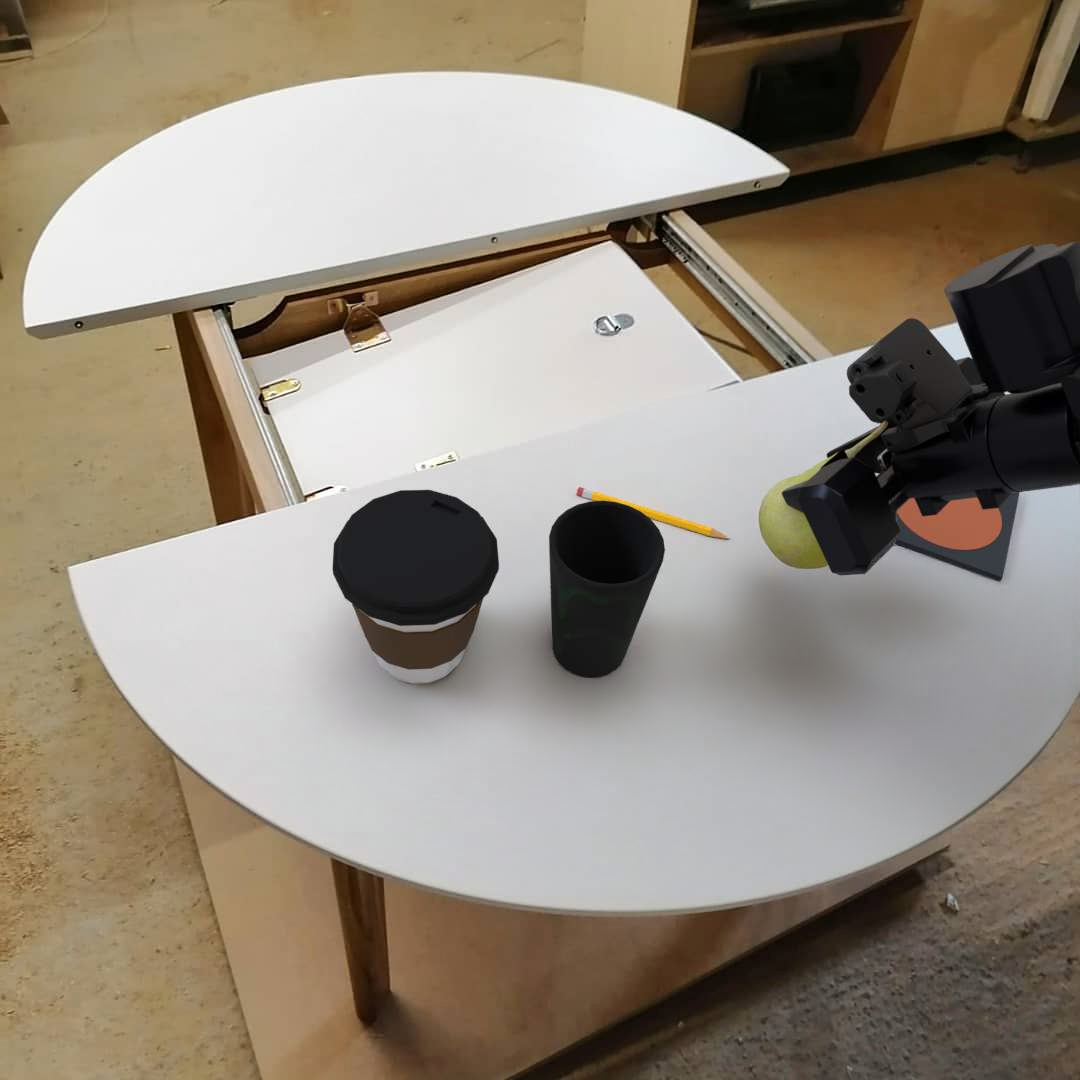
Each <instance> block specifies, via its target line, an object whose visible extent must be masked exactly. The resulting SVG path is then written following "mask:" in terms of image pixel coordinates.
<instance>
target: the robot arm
mask: <svg viewBox="0 0 1080 1080" xmlns="http://www.w3.org/2000/svg"><path fill="white" fill-rule="evenodd" d="M943 291H944V294H945V296H946V298H947V299H946V300H947V301H948V304H949V306H950V308H951V311H952V313H953V316H954V318H955V321H956V322H957V326H958V327H959V331H960V332H961V335H962V337H963V340H964V342H965V345H966V348H967V349H968V352H969V354H970V356H966V357H963V358H959V359H955V358H954V357H953V356H952V355H951V353H950V352H949V351H948V350H947V349H946V348H945V347H944V345H943V344H942V343H941V342H940V341H939V339H937V337H936V336H935V335H934V334H933V333H932V332H931V330H930V329H929V328H928V326H926V325H925V323H923V322H922V321H921V320H919V319H917V318H913V317H909V318H907V319H905V320H903V321H902V322H901V323H900V324H898V325H897V326H896V327H895V328H893V329H892V330H891V331H890V332H888V333H887V334H886V335H884V336H883V337H882V338H881V339H880V340H878V341H877V342H876V343H875V344H874V345H872V346H871V347H870V348H868V350H866V351H865V352H864V353H863V354H861V356H859V357H858V358H856V359H855V360H854V361H853V362H851V364H850V365H849V366H848V367H847V369H846V377H847V380H848V382H849V384H850V385H849V387H848V394H849V397H850V399H852V401H853V402H854V403H855V404H856V406H857V407H858V408H859V409H860V410H861V411H862V412H863V414H864V415H865V416H866V417H867V418H868V420H869V421H870V422H872V423H876V424H881V423H883V422H884V421H887V422H888V425H887V427H886V428H885V430H884V431H883V432H881V434H880V435H878V436H877V437H876V438H874V439H873V440H871V441H870V442H869V443H867V444H866V445H865V446H864V447H862V449H861V450H860V451H859V452H858V453H856V455H855V456H854V457H852V458H848V456H847V454H846V452H845V450H848V449H851V448H853V447H854V446H855V445H857V444H858V443H859V442H861V441H862V440H864V439H865V438H866V437H868V436H869V435H870V434H871V433H873V432H874V431H875V430H876V429H877V428H878V427H879V425H878V426H875V427H874V428H872V429H870V430H868V431H866V432H864V433H862V434H860V435H858V436H856V437H854V438H852V439H850V440H848V441H846V442H845V443H842V444H841V445H839V446H837V447H835V448H833V449H831V450H829V451H828V452H827V453H826V459H827V458H829V457H831V456H833V455H834V454H836V453H837V454H836V455H834V456H833V457H832V458H831V459H830V460H829V461H827V462H826V463H825V464H824V465H823V466H822V467H821V468H820V470H819V471H818V472H817V473H816V474H815V475H814V476H812V477H811V478H810V479H809V480H807V481H804V482H802V483H799V484H796V485H794V486H792V487H789V488H787V489H785V490H784V491H782V496H783V498H784V500H785V502H786V504H787V505H788V506H790V507H792V508H794V509H796V510H798V511H800V512H802V513H804V515H805V517H806V519H807V521H808V523H809V525H810V527H811V529H812V532H813V534H814V536H815V538H816V540H817V542H818V544H819V546H820V549H821V551H822V553H823V555H824V557H825V559H826V561H827V563H828V567H829V570H830V572H831V573H832V574H834V575H837V576H840V577H841V576H855V575H856V576H857V575H866V574H867V573H868V572H869V571H870V570H871V569H873V567H874V566H875V565H876V564H877V563H878V562H879V561H880V560H881V559H882V558H883V557H884V556H885V555H886V554H887V553H888V552H889V551H890V550H891V549H892V548H893V547H894V546H895V545H896V544H895V542H896V540H897V538H898V536H899V534H900V532H901V530H900V528H899V526H898V524H897V511H898V510H899V509H900V508H901V507H902V506H903V505H904V504H905V503H906V502H907V501H908V500H909V499H910V498H914V499H915V501H916V503H917V505H918V508H919V510H920V512H921V514H922V516H931V515H937V514H938V513H939V512H940V511H941V510H942V509H943V508H944V507H945V506H946V505H947V504H948V503H949V502H950V501H953V500H961V499H969V498H978V500H979V502H980V505H981V507H982V509H983V510H984V509H993V508H999V507H1000V506H1001V505H1002V504H1003V502H1004V501H1005V500H1006V499H1007V498H1008V497H1009V496H1010V495H1011V494H1012V493H1017V492H1020V493H1024V492H1032V491H1033V492H1034V491H1040V490H1048V489H1056V488H1064V487H1071V486H1080V242H1078V241H1077V240H1076V241H1072V242H1069V243H1066V244H1063V245H1060V246H1057V244H1055V243H1049V244H1048V243H1047V244H1041V245H1037V246H1034V244H1033V243H1031V244H1030V243H1029V244H1028V245H1025V246H1022V247H1018V248H1015V249H1013V250H1010V251H1008V252H1005V253H1002V254H1001V255H998V256H995V257H994V258H991V259H990V260H987V261H985V262H983V263H981V264H979V265H977V266H975V267H973V268H971V269H969V270H967V271H966V272H964V273H962V274H960V275H959V276H958V277H956V278H955V279H953V280H951V282H948V283H947V285H946V286H945V287H944V290H943ZM876 474H877V475H876Z"/></svg>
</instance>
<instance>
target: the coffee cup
mask: <svg viewBox="0 0 1080 1080" xmlns="http://www.w3.org/2000/svg"><path fill="white" fill-rule="evenodd" d="M498 547H499V546H498V539H497V537H496V535H495V534H494V532H493V531H492V529H491V527H490V525H488V523H487V521H486V520H485V518H484V517H483V516H482V515H481V514H480V512H479V511H477V509H475V508H473V507H472V506H471V505H469V504H468V503H466V502H465V501H463V500H462V499H460V498H459V497H457V496H454V495H451V494H446V493H444V492H438V491H436V490H432V489H402V490H401V489H400V490H397V491H394V492H391V493H387V494H385V495H381V496H378V497H376V498H372V499H371V500H370V501H368V502H367V503H366V504H364V505H363V506H361V507H360V508H359V509H358V510H356V511H355V512H354V513H351V515H350V516H349V518H348V519H347V521H346V523H344V526H343V527H342V529H341V531H340V532H339V534H338V535H337V537H336V539H335V541H334V543H333V549H332V550H333V552H332V575H333V577H334V579H335V581H336V583H337V586H338V587H339V589H340V592H341V594H342V595H343V598H344V599H345V600H346V601H348V602H349V603H350V604H351V605H352V607H353V610H354V612H355V615H356V617H357V620H358V622H359V625H360V628H361V631H362V632H363V635H364V637H365V639H366V642H367V643H368V646H369V648H370V649H371V651H372V652H373V654H374V656H375V658H376V660H377V662H378V664H379V666H380V667H381V668H382V669H383V670H384V671H386V672H387V673H388V674H390V676H392V677H394V678H395V679H396V680H398V681H402V682H405V683H409V684H411V685H417V684H419V685H420V684H431V683H434V682H436V681H438V680H441V679H443V678H445V677H446V676H447V675H449V674H450V673H451V672H452V671H453V670H454V669H455V668H456V667H457V666H459V664H460V663H461V661H462V659H463V656H464V654H465V652H466V650H467V647H468V645H469V643H470V640H471V638H472V636H473V634H474V631H475V628H476V625H477V621H478V618H479V615H480V611H481V608H482V605H483V601H484V598H485V597H486V596H487V595H488V594H489V593H490V590H491V588H492V586H493V584H494V582H495V580H496V577H497V574H498V572H499V569H500V560H499V548H498Z"/></svg>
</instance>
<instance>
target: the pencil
mask: <svg viewBox="0 0 1080 1080" xmlns="http://www.w3.org/2000/svg"><path fill="white" fill-rule="evenodd" d="M576 496H578V497H582V498H584V499H588V500H591V501H612V502H618V503H621V504H625V505H628V506H631V507H633V508H635V509H637V510H638V511H640V512H642V513H643V514H645V515H646V516H647V517H648V518H650V519H651V520H655V521H659V522H662V523H665V524H668V525H670V526H675V527H677V528H680V529H684V530H688V531H690V532H694V533H697V534H699V535H703V536H706V537H709V538H710V537H711V538H717V539H724V540H731V538H730V537H729V536H727V535H726V534H724V533H722V532H720V531H718V530H716V529H714V528H712V527H711V526H706V525H705V524H704V525H703V524H701V523H697V522H694V521H690V520H687V519H683V518H681V517H678V516H675V515H672V514H669V513H665V512H662V511H659V510H656V509H652V508H649V507H645V506H644V505H643V506H642V505H639V504H635V503H633V502H631V501H630V502H629V501H627V500H623V499H620V498H617V497H613V496H610V495H607V494H604V493H601V492H597V491H594V490H591V489H588V488H584V487H582V486H578V488H577V490H576Z"/></svg>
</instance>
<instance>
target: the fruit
mask: <svg viewBox="0 0 1080 1080" xmlns="http://www.w3.org/2000/svg"><path fill="white" fill-rule="evenodd" d="M887 425H888V422H887V421H884V422H883V423H879V425H878V426H879V427H878V428H877V429H876V430H875V431H874V432H873V433H871V434H870V435H869V436H868V437H866V438H865V439H864V440H862V441H861V442H859V443H858V444H857V445H855V446H854V447H853V448H851V449H848V450H845V452H846V454H847V456H848V458H852V457H854V456H855V455H856V453H858V452H859V451H860V450H861V449H862V447H864V446H865V445H866V444H867V443H869V442H870V441H871V440H873V439H874V438H876V437H877V436H878V435H880V434H881V432H883V431H884V430H885V428H886V427H887ZM836 454H837V453H836ZM836 454H834V455H836ZM834 455H833V456H834ZM833 456H831V457H829V458H827V457H826V458H825V459H824V460H821V461H820V462H818V463H816V464H815V465H813V466H812V467H810V468H809V469H807V470H805V471H804V472H802V473H800V474H796V475H793V476H790V477H787V478H784V479H782V480H780V481H778V482H776V483H775V484H774V485H773V486H772V487H771V488H769V490H768V491H767V493H766V494H765V495H764V497H763V498H762V501H761V503H760V506H759V509H758V510H759V512H758V527H759V531H760V534H761V537H762V539H763V541H764V543H765V545H766V546H767V548H768V549H769V550H770V552H771V554H772V555H774V557H775V558H776V559H778V560H779V561H780V562H781V563H783V564H785V565H786V566H788V567H791V568H793V569H798V570H817V569H822V568H826V567H829V565H828V563H827V561H826V559H825V557H824V555H823V553H822V551H821V549H820V546H819V544H818V542H817V540H816V538H815V536H814V534H813V532H812V529H811V527H810V525H809V523H808V521H807V519H806V517H805V515H804V513H802V512H800V511H798V510H796V509H794V508H792V507H790V506H788V505H787V504H786V502H785V500H784V498H783V496H782V491H784V490H785V489H787V488H789V487H792V486H794V485H796V484H799V483H802V482H804V481H807V480H809V479H810V478H811V477H812V476H814V475H815V474H816V473H817V472H818V471H819V470H820V468H821V467H822V466H823V465H824V464H825V463H826V462H827V461H829V460H830V459H831V458H832V457H833Z"/></svg>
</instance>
